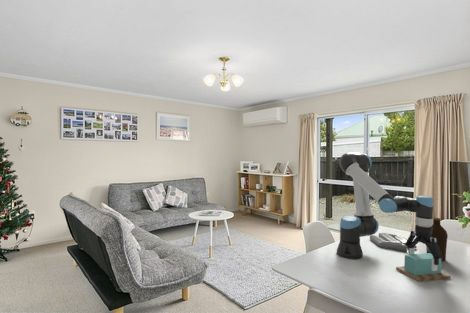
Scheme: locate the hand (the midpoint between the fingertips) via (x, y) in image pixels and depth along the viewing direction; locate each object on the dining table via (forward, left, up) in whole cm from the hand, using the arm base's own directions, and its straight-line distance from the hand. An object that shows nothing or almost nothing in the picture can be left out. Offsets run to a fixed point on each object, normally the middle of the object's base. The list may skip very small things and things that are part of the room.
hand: (422, 265), depth 143 cm
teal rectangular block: (0, 0, -3) cm, 3 cm away
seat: (0, 0, -5) cm, 5 cm away
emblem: (+21, +44, -5) cm, 49 cm away
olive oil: (+28, +17, -5) cm, 33 cm away
